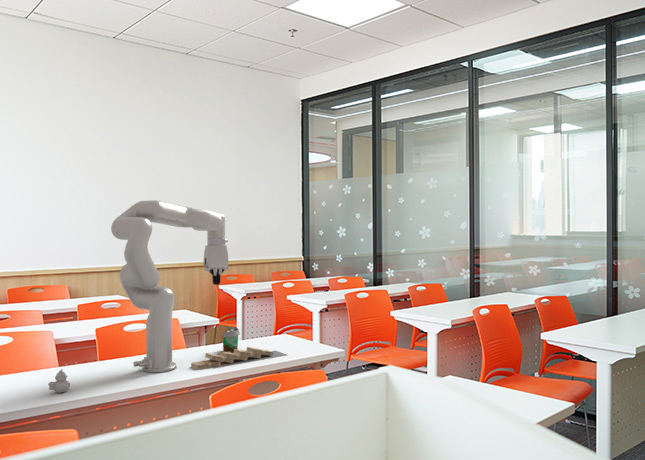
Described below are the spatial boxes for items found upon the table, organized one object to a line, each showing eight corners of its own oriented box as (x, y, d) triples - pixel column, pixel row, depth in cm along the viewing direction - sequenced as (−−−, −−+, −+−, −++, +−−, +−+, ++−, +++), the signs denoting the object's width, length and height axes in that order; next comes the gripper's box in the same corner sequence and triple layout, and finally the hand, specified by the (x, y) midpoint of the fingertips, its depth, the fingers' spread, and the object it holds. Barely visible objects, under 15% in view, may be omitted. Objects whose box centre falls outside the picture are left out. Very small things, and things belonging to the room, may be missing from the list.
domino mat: (213, 369, 209) (213, 368, 209) (202, 364, 217) (202, 362, 217) (288, 355, 229) (288, 354, 229) (275, 351, 237) (275, 350, 237)
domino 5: (272, 356, 227) (252, 353, 222) (266, 353, 231) (246, 350, 226) (273, 352, 228) (253, 349, 222) (267, 349, 232) (247, 346, 226)
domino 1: (220, 365, 213) (196, 369, 207) (214, 362, 217) (191, 367, 211) (220, 361, 213) (196, 365, 207) (214, 358, 217) (191, 362, 211)
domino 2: (232, 363, 216) (210, 359, 210) (226, 360, 220) (204, 357, 214) (233, 359, 217) (211, 355, 211) (227, 356, 221) (206, 353, 215)
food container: (237, 356, 228) (237, 332, 228) (222, 356, 229) (222, 332, 228) (242, 349, 241) (242, 326, 241) (228, 349, 241) (228, 326, 241)
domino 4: (260, 358, 224) (239, 355, 218) (254, 355, 228) (233, 353, 222) (261, 354, 224) (240, 351, 218) (255, 352, 228) (234, 349, 222)
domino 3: (246, 360, 220) (225, 357, 214) (240, 358, 224) (219, 355, 218) (247, 356, 220) (226, 353, 214) (241, 354, 224) (220, 351, 218)
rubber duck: (71, 392, 181) (71, 368, 181) (49, 396, 177) (49, 371, 177) (68, 388, 186) (68, 365, 185) (47, 392, 182) (46, 368, 182)
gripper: (227, 241, 244) (228, 282, 245) (196, 242, 235) (196, 284, 236) (235, 241, 238) (236, 284, 239) (203, 242, 229) (204, 286, 230)
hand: (216, 284), depth 237 cm, fingers closed
